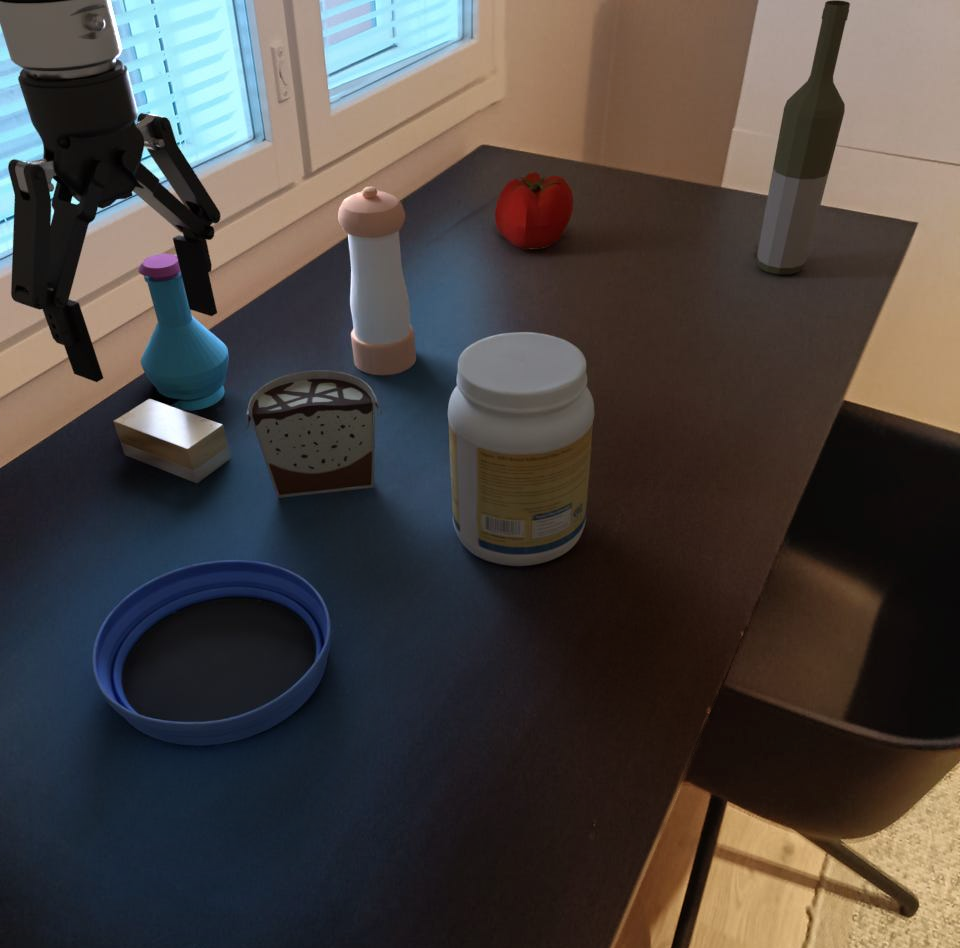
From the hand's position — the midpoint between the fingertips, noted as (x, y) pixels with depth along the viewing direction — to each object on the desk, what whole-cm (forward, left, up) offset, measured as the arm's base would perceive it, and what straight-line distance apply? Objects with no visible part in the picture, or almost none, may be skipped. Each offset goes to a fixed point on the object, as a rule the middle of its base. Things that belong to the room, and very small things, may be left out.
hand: (149, 342), depth 81 cm
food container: (+11, +8, -15) cm, 20 cm away
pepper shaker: (+3, +30, -15) cm, 33 cm away
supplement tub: (+32, +10, -15) cm, 37 cm away
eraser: (-4, +3, -15) cm, 16 cm away
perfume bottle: (-11, +13, -15) cm, 23 cm away
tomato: (+2, +68, -15) cm, 69 cm away
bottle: (+35, +77, -15) cm, 86 cm away
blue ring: (+20, -17, -15) cm, 30 cm away
